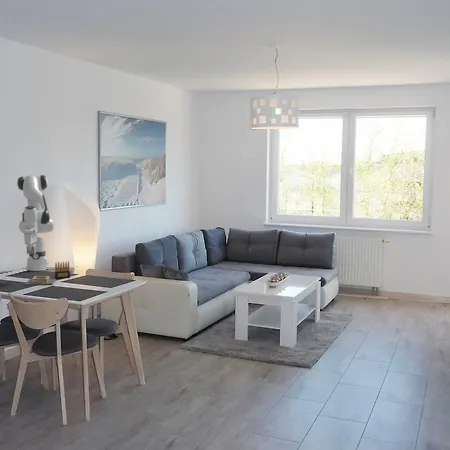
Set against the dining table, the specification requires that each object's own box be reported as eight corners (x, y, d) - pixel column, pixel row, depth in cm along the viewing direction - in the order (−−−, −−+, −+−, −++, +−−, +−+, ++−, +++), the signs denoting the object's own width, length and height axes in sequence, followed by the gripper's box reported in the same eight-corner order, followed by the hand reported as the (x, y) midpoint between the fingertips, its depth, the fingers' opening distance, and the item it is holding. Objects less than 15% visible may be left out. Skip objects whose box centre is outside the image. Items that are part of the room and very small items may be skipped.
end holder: (30, 280, 412) (29, 275, 412) (56, 280, 414) (56, 275, 414) (24, 285, 396) (24, 279, 396) (52, 285, 398) (52, 279, 398)
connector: (28, 252, 410) (28, 244, 410) (35, 252, 411) (35, 244, 410) (26, 253, 406) (26, 245, 406) (34, 253, 407) (34, 245, 406)
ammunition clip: (69, 277, 425) (69, 260, 424) (70, 277, 423) (70, 261, 422) (54, 278, 420) (54, 261, 418) (55, 279, 418) (55, 262, 417)
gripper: (29, 228, 417) (30, 247, 418) (22, 231, 396) (22, 251, 398) (38, 228, 417) (39, 247, 419) (32, 231, 397) (32, 251, 398)
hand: (31, 249), depth 408 cm, fingers closed on connector, 4 cm apart
